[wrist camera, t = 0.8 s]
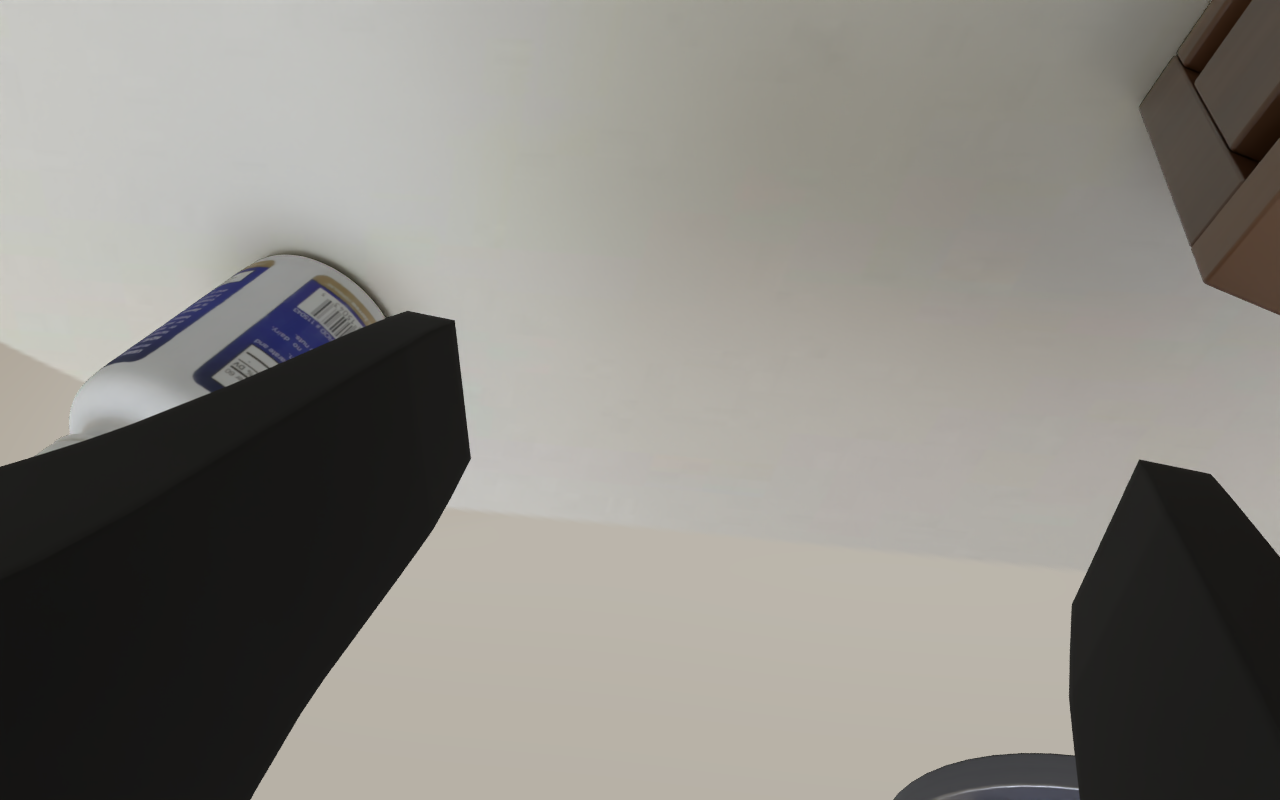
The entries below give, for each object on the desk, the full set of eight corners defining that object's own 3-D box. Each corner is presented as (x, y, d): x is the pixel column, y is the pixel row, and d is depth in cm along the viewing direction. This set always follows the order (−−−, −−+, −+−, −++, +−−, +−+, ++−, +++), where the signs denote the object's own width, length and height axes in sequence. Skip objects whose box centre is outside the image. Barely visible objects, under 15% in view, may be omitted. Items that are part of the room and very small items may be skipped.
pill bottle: (261, 385, 28) (19, 593, 21) (225, 232, 25) (-74, 418, 18) (415, 428, 27) (212, 662, 20) (398, 273, 23) (149, 488, 17)
